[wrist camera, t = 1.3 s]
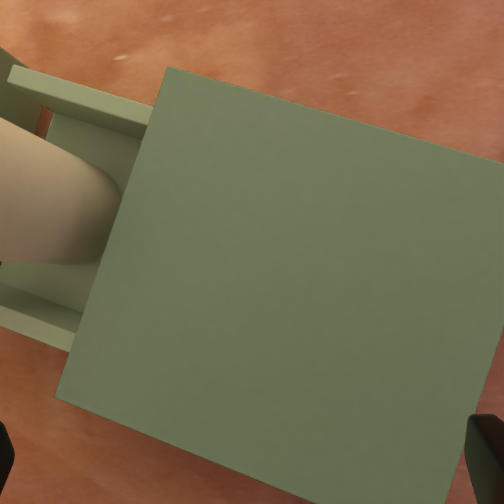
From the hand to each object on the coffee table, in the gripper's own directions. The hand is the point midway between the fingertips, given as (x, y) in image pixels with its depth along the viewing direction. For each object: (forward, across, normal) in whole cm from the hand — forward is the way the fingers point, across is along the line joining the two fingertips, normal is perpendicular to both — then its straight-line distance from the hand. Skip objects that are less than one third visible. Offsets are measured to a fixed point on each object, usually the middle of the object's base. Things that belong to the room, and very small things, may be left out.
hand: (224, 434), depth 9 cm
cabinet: (+13, -1, +4) cm, 14 cm away
